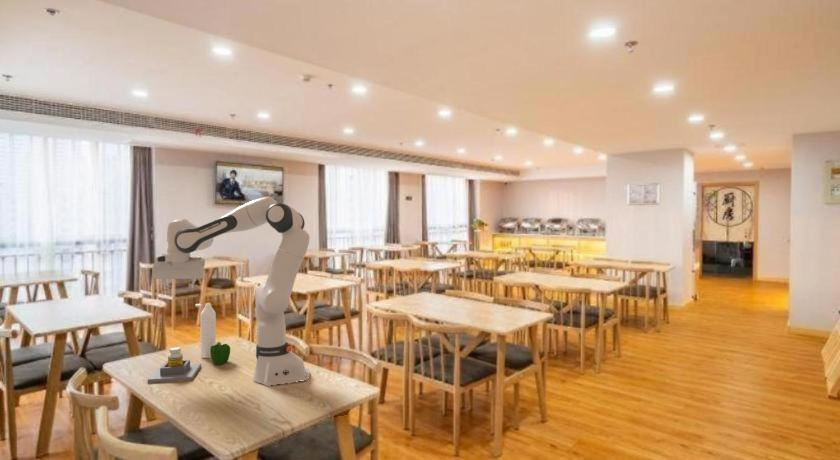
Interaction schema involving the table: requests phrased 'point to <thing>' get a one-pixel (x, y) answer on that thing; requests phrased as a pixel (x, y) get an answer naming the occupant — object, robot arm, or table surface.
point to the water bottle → (207, 329)
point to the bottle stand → (175, 373)
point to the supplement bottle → (175, 357)
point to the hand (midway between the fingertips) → (179, 288)
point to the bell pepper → (220, 353)
